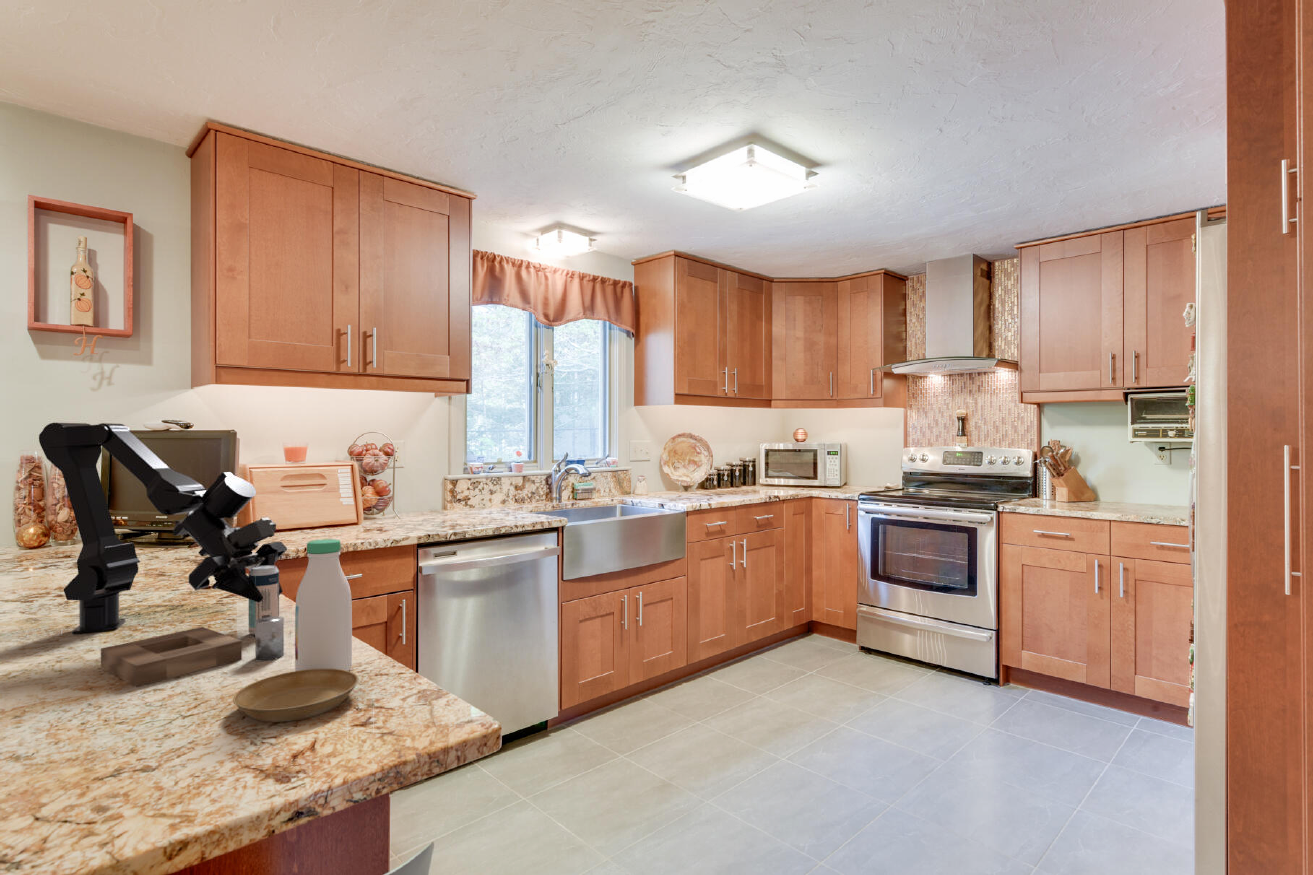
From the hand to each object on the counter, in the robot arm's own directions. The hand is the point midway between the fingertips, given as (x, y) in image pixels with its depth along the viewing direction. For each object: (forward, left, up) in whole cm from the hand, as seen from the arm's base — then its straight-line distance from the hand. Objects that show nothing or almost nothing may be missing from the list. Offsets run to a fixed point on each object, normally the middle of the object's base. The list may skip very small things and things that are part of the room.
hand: (271, 596), depth 120 cm
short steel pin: (+15, +1, -7) cm, 16 cm away
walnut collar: (+12, -13, -7) cm, 19 cm away
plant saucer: (+39, +6, -7) cm, 40 cm away
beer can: (-1, -1, -7) cm, 7 cm away
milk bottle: (+27, +9, -7) cm, 29 cm away
